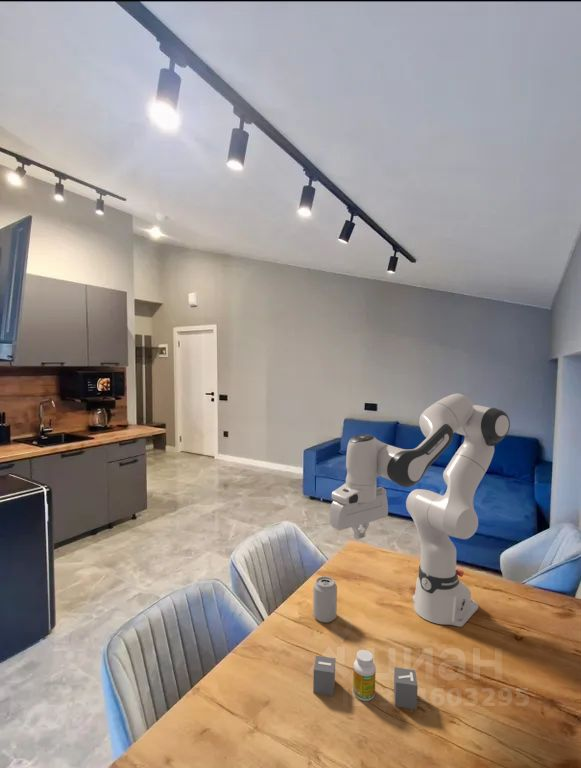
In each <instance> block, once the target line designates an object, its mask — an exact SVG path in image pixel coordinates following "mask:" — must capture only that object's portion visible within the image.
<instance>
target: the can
mask: <svg viewBox="0 0 581 768" xmlns="http://www.w3.org/2000/svg"><path fill="white" fill-rule="evenodd" d="M337 585H338V584H336V581H335V579H333V578H332V577H330V576H326V575H325V576H319V577H316V580H315V582H314V583H313V598H312V600H313V601H312V602H313V603H312V604H313V605H312V608H313V609H312V615H313V617H314V618H315V619H316V620H317V622H320V623H324V624H325V623H326V624H327V623H332V621H334V620H335V619H336V618H337V605H338V603H337V602H338V601H337V599H338V586H337Z"/></svg>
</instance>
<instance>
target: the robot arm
mask: <svg viewBox="0 0 581 768" xmlns="http://www.w3.org/2000/svg"><path fill="white" fill-rule="evenodd" d="M419 416H420V417H419V420H418V421H419V423H418V424H419V428H420V431H421V433H422V434H423V436H424V437H425V439H424V440H423V441H421V443H420V444H418V445H417V446H416V447H415V448H413V449H412V448H411V449H405V448H401V447H397V446H394V445H391V444H387V443H385V442H382V441H381V440H378V439H377V438H376V436H375V435H372V434H365V433H364V434H357V435H354V436H352V437H351V438H350V439H349V441H348V443H347V447H346V448H347V449H346V455H345V456H346V457H345V458H346V460H345V468H346V477H345V483H344V484H342V485H341V486H340V487H337V488H336V489H335V490H333V491H332V492H331V499H332V500H333V501H332V502H331V504H330V511H329V524H330V526H331V527H332V528H333V529H334V530H337V531H344V530H347V529H350V528H351V529H352V531H353V538H354V539H356V540H360V539H364V538H366V534H367V533H366V532H367V531H368V529H369V527H370V526H369V525H370V523H371V522H374V521H378V520H381V519H384V518H387V516H388V515H389V505H388V503H389V502H388V497H387V490H386V488H385V487H384V486H378V487H377V479H378V477H382V478H383V479H384V478H385V479H386V480H390V481H391V482H393V483H395V484H397V485H399V486H401V487H403V488H410V487H413V486H415V485H416V484H418V483H419V482H420V481H421V480H422V479H423V477H424V475H425V473H426V471H427V470H428V469H429V467H431V466H432V465H433V463H434V462H435V461H436V460H438V458H439V457H440V456H441V455H442V454H443V452H445V450H447V449H448V447H449V446H450V445H451V444H452V442H453V440H454V437H455V436H454V434H455V435H456V434H457V435H461V436H464V439H463V442H462V444H461V445H460V446H459V448H458V449H457V451H455V453H454V455H453V456H452V457H451V460H450V461H449V462H448V464H447V465H446V467H445V469H444V470H443V473H442V477H443V478H442V479H443V481H444V483H445V484H446V486H447V487H446V491H445V493H444V494H443V495H442V494H441V493H437V492H435V491H432V490H429V489H421V488H416V489H415V488H414V489H413V490H412V491H410V493H409V494H408V496H407V498H406V500H405V506H406V507H405V508H406V511H407V513H408V514H409V516H411V518H412V520H413V523H414V525H415V528H416V530H417V531H416V532H417V535H418V539H419V544H420V564H419V566H418V577H417V578H416V584H415V591H414V592H415V593H414V594H413V595H412V601H413V609H414V611H415V613H416V614H417V615H418V616H419V617H421V618H422V619H424V620H426V621H427V622H431V623H433V624H438V625H448V626H450V625H451V626H453V627H455V626H456V627H460V628H461V627H464V625H465V624H466V623H467V622H468V621H469V620H470V618H471V617H472V616H473V615H474V614H475V613H476V612H477V611H478V610H479V604H478V603H477V602H476V601H475V600H474V599H473V598H472V594H471V590H470V589H469V587H468V586H467V585H466V584H464V583H463V582H462V581H460V580H459V577H460V578H462V577H463V576H464V575H465V574H464V570H461V569H460V568H457V548H456V546H455V544H454V542H453V541H452V540H451V539H450V537H453V538H457V539H461V540H468V539H469V538H471V537H472V536H474V535H475V533H476V532H477V530H478V528H479V517H478V514H477V513H476V510H475V508H474V496H475V494H476V491H477V488H478V487H479V485H480V483H481V481H482V480H483V477H484V476H485V474H486V472H487V471H488V469H489V466H490V464H491V462H492V460H493V457H494V454H495V446H497V445H498V444H499V443H500V442H501V441H502V440H503V439H505V437H506V436H507V434H508V433H509V431H510V427H511V422H510V421H511V420H510V417H509V416H508V413H507V412H505V411H504V410H502V409H498V408H496V407H489V406H484V405H478V404H473V402H472V401H471V400H470V398H469V397H468V396H466V395H464V394H462V393H453V394H450V395H446V396H445V397H443V398H441V399H439V400H437V401H436V402H434V403H432V404H431V405H429V406H428V407H427V408H426V409H424V411H422V413H421V414H420V415H419Z"/></svg>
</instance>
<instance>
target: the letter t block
mask: <svg viewBox="0 0 581 768" xmlns="http://www.w3.org/2000/svg"><path fill="white" fill-rule="evenodd" d="M393 668H394V670H393V671H394V673H393V674H394V675H393V679H394V680H393V695H394V697H393V698H394V706H395V707H398V708H402V709H410V710H416V711H417V710H418V679H417V674H416V670H415V669H409V668H404V667H396V666H394V667H393Z"/></svg>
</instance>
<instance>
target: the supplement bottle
mask: <svg viewBox="0 0 581 768" xmlns="http://www.w3.org/2000/svg"><path fill="white" fill-rule="evenodd" d="M376 668H377V667H376V664H375V663H374V656H373V654H372V652H371V651H369V650H366V649H360V650H358V651H357V653H356V659H355V660H354V662H353V677H352V679H353V680H352V682H353V684H352V691H353V694H354V696H355V697H356V698H357V699H358V700H360V701H363V702H369V701H372V700H373V699H374V698H375V696H376V675H377V674H376V672H377V670H376Z"/></svg>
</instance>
